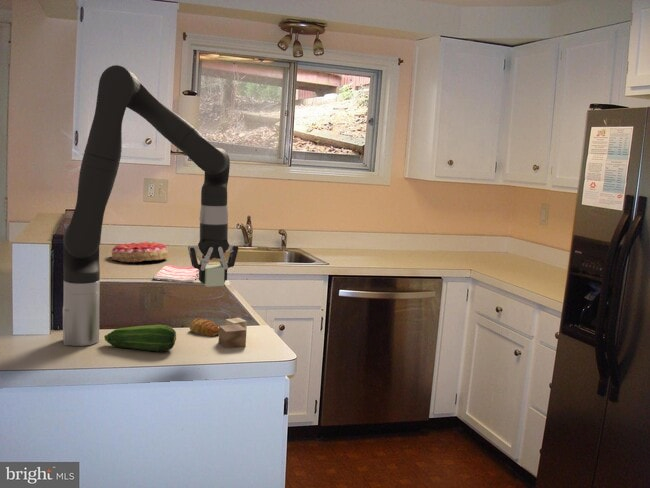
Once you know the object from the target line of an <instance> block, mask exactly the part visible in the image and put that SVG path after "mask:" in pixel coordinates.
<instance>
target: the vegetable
mask: <svg viewBox="0 0 650 488" xmlns="http://www.w3.org/2000/svg"><path fill="white" fill-rule="evenodd" d="M176 340H177V333H176V330H175V329H174V328H173V327H171V326H169V325H165V324H153V325H152V324H149V325H138V326H128V327H118V328H116V329H114V330H113V331H111V332H109V333H107V334H106V335H104V341H105V342H106V343H108V344H109V345H111V346H112V348H116V349H117V348H118V349H135V350H142V351H148V352H155V353H158V352H160V353H161V352H163V353H164V352H167V351H170V350H172V349H173V348H174V346H175V345H176Z"/></svg>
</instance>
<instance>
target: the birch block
mask: <svg viewBox="0 0 650 488" xmlns="http://www.w3.org/2000/svg"><path fill="white" fill-rule="evenodd" d="M247 322H248V320H245V319H243V318H241V317H233V318H227V319H225V325H238V324H239V325H241V326H242V327H243V328H244V329H246V331H247V326H248V323H247Z"/></svg>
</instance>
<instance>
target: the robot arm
mask: <svg viewBox="0 0 650 488" xmlns="http://www.w3.org/2000/svg"><path fill="white" fill-rule="evenodd" d="M98 81H99V82H98V88H97V96H96V104H95V110H94V116H93V119H92V121H91V127H90V129H89V133H88V138H87V142H86V145H85V149H84V152H83V156H82V159H81V164H80V169H79V174H78V184H77V194H76V195H77V197H76V203H75V207H74V211H73V213H72V216H71V220H70V222H69V224H68V225H67V226H66V228H65V230H64V232H63V236H62V237H63V238H62V239H63V266H62V267H63V272H62V273H63V274H62V275H63V305H62V342H63V345H64V346H73V347H80V346H81V347H82V346H84V347H85V346H90V345H95V344H97V343H98V342H99V341H100V297H101V296H100V290H101V289H100V288H101V287H100V285H101V284H100V282H101V281H100V278H101V277H100V276H101V269H100V268H101V267H100V245H101V241H102V240H101V239H102V238H101V237H102V228H103V224H104V223H103V222H104V217H105V216H104V215H105V211H106V208H107V204H108V202H109V199H110V196H111V193H112V190H113V187H114V184H115V182H116V177H117V175H118V171H119V167H120V163H121V158H122V152H123V151H122V147H123V146H122V145H123V142H122V141H123V139H122V138H123V137H122V134H123V133H122V132H123V131H122V127H123V126H122V125H123V121H124V116H125V112H126V109H129V110H131V111H133V112H135V114H137V115H139V116H141V118H143V119H144V120H146V121H147V123H149V124H150V125H151V126H152V127H153V128H154V129H156V131H157V133H158V132H159V134H161V136H162V137H164V138H165V139H166V140H167V141H168V142H170V144H172V145H173V146H175V147H176V148H177V149H178V150H180V151H181V152H182V153H184V154H185V155H186V156H187V157H188V158H189V159H190V160H191V161H192V162H193V163H194V164H195V165H196V166H197V167H198V168H199V169H200V170H202V171H203V172H204V181H203V184H202V187H201V193H200V194H201V195H200V204H201V205H200V210H199V211H200V212H199V242H198V244H197V245H193V246H191V245H188V247H187V250H188V255H189V258H190V262H191V267H194V268H196V269H199V276H198V281H199V282H200V283H201V284H202V285H203V284H205V267H206V265H208V263H209V261H210V260H212V259H218V261H219V263H220V264H219V265H221V266H222V267H224V284H225V283H226V281H227V280H228V269H229V268H233V267H234V266H235V265H236V259H237V255H238V252H239V247H238V245H236V244H229V241H228V239H229V238H228V237H229V236H228V232H229V231H228V230H229V223H228V222H229V213H228V182H229V177H230V169H231V168H230V167H231V165H230V164H231V161H230V156H229V154H228V153H227V151H226V150H225V149H223V148H221V147H217V146H214V145H213V144H212V143H210V141H208V140H207V139H206V138H204V137H203V135H202V133H201V132H200V131H199V130H198V129H196V128H195V127H194V126H193V125H192V124H190V123H189V122H188V121H187V120H185V119H184V118H182V117H181V116H180V115H179V114H177V113H176V112H174V111H173V110H171V109H170V108H169V107H168V106H167V105H165V104H164V103H162V102H161V101H159V99H157V97H155V96H154V95H153V94H152V93H151V92H150V91H149V90H148V89H147V87H146V86H144V84H143V83H142V82H141V81H140V80H139V78H138V77H137V75H136V74H135V73H133V72H132V71H130V70H129V69H128V68H126V67H125V66H122V65H119V64H118V65H117V64H115V65H111V66H109V67H107V68H105V70H104V71H103V72H102V73H101V75H100V77H99V80H98ZM198 251H200V252H201V257H200V260H199V261H200V262H198V257H197V254H198ZM227 251H228V252H229V256H228V260H227V258H226V256H225V254H226V252H227Z"/></svg>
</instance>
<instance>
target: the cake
mask: <svg viewBox="0 0 650 488" xmlns="http://www.w3.org/2000/svg"><path fill="white" fill-rule="evenodd" d="M168 258H169V251H168V247H167V246H166V244H164V243H159V242H149V241H145V242H138V243H135V242H131V243H124V244H122V243H121V244H117V245H115V246H114V247H113V248H112V249H111V259H112V260H114V261H119V262H120V263H122V264H139V263H140V262H143V261H146V262H151V261H152V262H153V261H154V262H155V261H163V260H165V259H168Z"/></svg>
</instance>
